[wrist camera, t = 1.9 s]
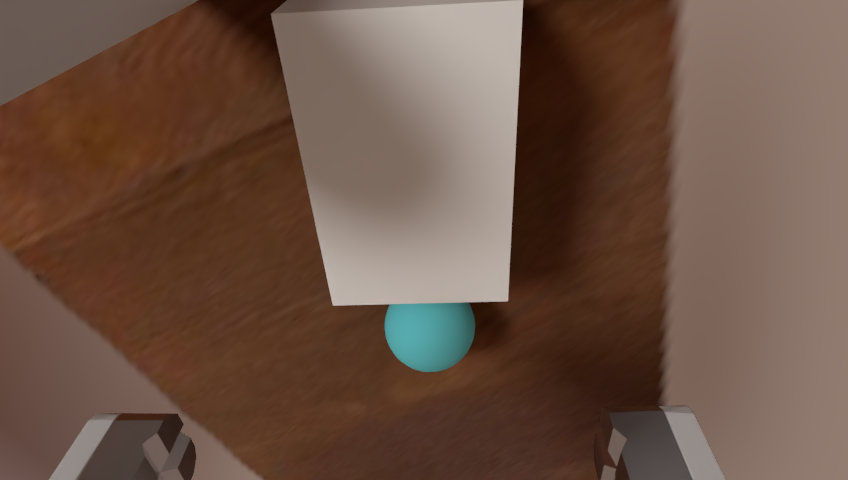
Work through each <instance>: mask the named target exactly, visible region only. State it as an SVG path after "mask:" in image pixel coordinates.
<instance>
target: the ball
mask: <svg viewBox="0 0 848 480" xmlns="http://www.w3.org/2000/svg"><path fill="white" fill-rule="evenodd" d="M385 334H386V339H387V342H388V344H389V347H390V348H391V350H392V352H393V353H394V354H395V356H396V357H397V358H398V359H399V360H400V361H401V362H403V363H404V364H405V365H407V366H409V367H410V368H413V369H415V370H419V371H424V372H436V371H441V370H445V369H447V368H450V367H451V366H453V365H455V364H456V363H458V362H459V361H460V360H461V359H462V358H463V357H464V356H465V355H466V353H467V352H468V350H469V348H470V346H471V344H472V342H473V338H474V334H475V319H474V314H473V311H472V308H471V306H470V304H469V302H461V303H419V304H390V306H389V308H388V311H387V314H386V318H385Z"/></svg>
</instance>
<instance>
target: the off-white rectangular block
mask: <svg viewBox="0 0 848 480" xmlns="http://www.w3.org/2000/svg"><path fill="white" fill-rule="evenodd" d="M522 15H523V0H287V1H286V2H284V3H283V4H282V5H281V6H280V7H278V8H277V9H276V10H275V11H274V12H272V13H271V18H272V22H273V27H274V32H275V37H276V41H277V46H278V51H279V55H280V60H281V65H282V69H283V74H284V79H285V83H286V88H287V93H288V98H289V102H290V107H291V112H292V116H293V121H294V126H295V130H296V135H297V140H298V144H299V149H300V154H301V159H302V163H303V168H304V173H305V177H306V182H307V187H308V191H309V196H310V201H311V205H312V210H313V215H314V220H315V224H316V229H317V234H318V238H319V243H320V248H321V252H322V257H323V262H324V266H325V271H326V276H327V281H328V285H329V290H330V295H331V299H332V304H333V306H335V305H377V304H419V303H461V302H503V301H508V291H509V271H510V252H511V232H512V212H513V193H514V173H515V153H516V133H517V114H518V94H519V74H520V55H521V35H522Z"/></svg>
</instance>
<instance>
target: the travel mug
mask: <svg viewBox="0 0 848 480" xmlns="http://www.w3.org/2000/svg"><path fill="white" fill-rule="evenodd" d="M196 1H198V0H0V106H1V105H3V104H5V103H7V102H8V101H10V100H12V99H14V98H16V97H18V96H20V95H22V94H23V93H25V92H27V91H29V90H31V89H33V88H35V87H37V86H38V85H40V84H42V83H44V82H46V81H48V80H50V79H52V78H54V77H55V76H57V75H59V74H61V73H63V72H65V71H67V70H69V69H70V68H72V67H74V66H76V65H78V64H80V63H82V62H84V61H85V60H87V59H89V58H91V57H93V56H95V55H97V54H99V53H101V52H102V51H104V50H106V49H108V48H110V47H112V46H114V45H116V44H117V43H119V42H121V41H123V40H125V39H127V38H129V37H131V36H132V35H134V34H136V33H138V32H140V31H142V30H144V29H146V28H147V27H149V26H151V25H153V24H155V23H157V22H159V21H161V20H163V19H164V18H166V17H168V16H170V15H172V14H174V13H176V12H178V11H179V10H181V9H183V8H185V7H187V6H189V5H191V4H193V3H194V2H196Z"/></svg>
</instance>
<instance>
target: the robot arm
mask: <svg viewBox="0 0 848 480" xmlns="http://www.w3.org/2000/svg"><path fill="white" fill-rule="evenodd" d="M599 422H600V425H601V430H600V431H599V432H597V433H596V434H595V440H594V462H595V467H596V473H597V477H598V480H726V479H725V477H724V474H723V472H722V470H721V468H720V466H719V464H718V462H717V460H716V458H715V456H714V454H713V452H712V450H711V448H710V446H709V444H708V442H707V439H706V437H705V436H704V433H703V431H702V429H701V427H700V425H699V423H698V421H697V419H696V417H695V415H694V413H693V411H692V410H691V409H690V408H689V407H688V406H656V405H653V406H619V407H603V408H602V410H601V411H600V416H599ZM182 426H183V422H182V421H181V419H180V417H179V416H178V414H132V413H129V414H128V413H127V414H126V413H109V414H107V413H106V414H105V413H101V414H96V415H95V416H94V417H92V418H91V419H90V420H89V421H88V422H87V424H86V425H85V426H84V428H83V429H82V431H81V432H80V434H79V435H78V437H77V438H76V440H75V441H74V443H73V444H72V446H71V447H70V449H69V450H68V452H67V453H66V455H65V456H64V458H63V459H62V461H61V462H60V464H59V465H58V467H57V469H56V470H55V471H54V473H53V474H52V476H51V478H50V479H49V480H191V478H192V476H193V473H194V468H195V460H196V452H195V446H194V444H193V442H192V440H191V438H190V437H188V436H186V435H185V434H183V433H182V432H180V431H181V428H182Z"/></svg>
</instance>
